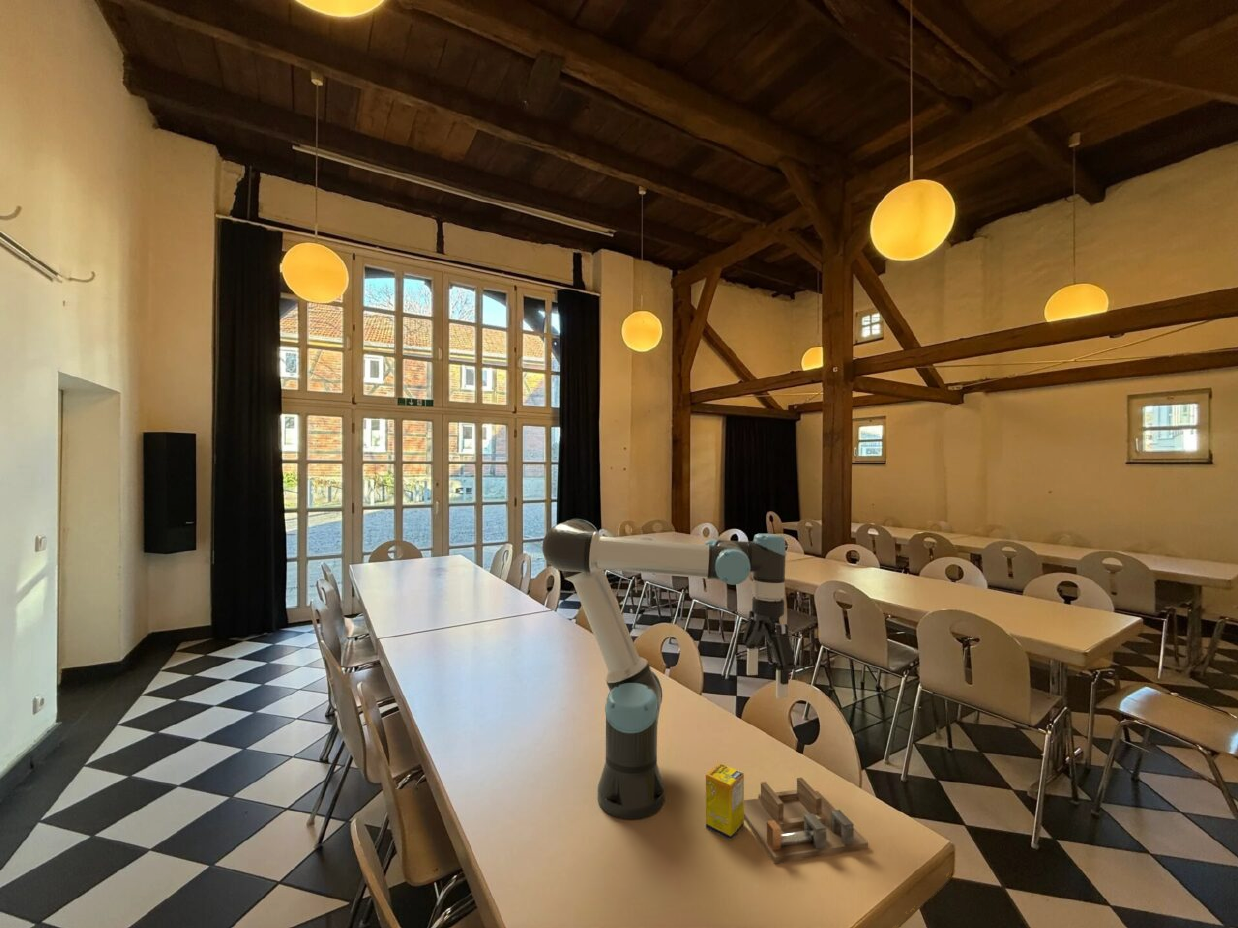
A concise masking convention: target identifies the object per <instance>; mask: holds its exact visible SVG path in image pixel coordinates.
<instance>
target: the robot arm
mask: <svg viewBox="0 0 1238 928" xmlns="http://www.w3.org/2000/svg"><path fill="white" fill-rule="evenodd" d="M541 545H542V553H543V554H542V555H543V557H544V559H545V560H546V562H547V564H549V565H550V566H551V567H552V568H554V569H555V570H557V571H561V573H562V576H563V578H564V580H566V581H568V582H571V583H572V584H573V586H574V589H575V591H576V594H577V596H578V599H579V601H580V604H581V607H582V609H583V611H584V613H585V614H584V615H585V617H586V619H587V621H588V623H589V626H590V630H591V631H592V635H593V636H594V639H595V641H596V644H597V646H598V649H599V651H600V653H601V656H602V658H603V662H604V664H605V666H606V668H607V674H606V675H605V682H606V685H607V688H608V690H609V693H608V694H607V697H606V701H605V708H604V712H605V762H604V766H603V769H602V773H601V775H600V778H599V781H598V785H597V803H598V805H599V806H600V808H601V809H602V810H604V812H605V813H608V814H609V815H611V816H613V817H616V818H620V819H624V820H625V819H626V820H641V819H645V818H649V817H651V816H653V815H655V814H657V813H658V812H659V811H660V810H661V809H662V807H663V806H664V805H665V795H666V793H665V791H666V790H665V785H664V783H663V782H664V781H663V778H662V775H661V772H660V770H659V769H660V768H659V766H658V759H657V758H658V723H659V716H660V710H661V706H662V705H661V704H662V701H663V688H662V684H661V681H660V679H659V677H658V675H656V673H655V672H654V671H653V670H652V669H651V667H650V664H649V662H648V659H646V658H644V657H641V656H639V653H638V651H637V648H636V646H635V644H634V641H633V639H632V636H631V634H630V631H629V629H628V626H627V624H626V622H625V621H626V620H625V619H624V617H623V615H622V612H621V609H620V607H619V604H618V601H617V599H616V597H615V595H614V592H613V589H612V588H611V584H610V582H609V580H608V577H607V575H606V572H605V570H607V571H618V572H630V573H639V574H651V575H663V576H671V577H672V576H673V577H684V578H685V577H686V578H695V579H706V580H714V581H715V580H717V581H721V582H723V583H725V584H727V585H739V584H741V583H743V582H745V581H746V580H747V579H748V577H749V576H750V573H753V574H752V575H753V576H752V596H753V597H752V599H751V600H752V606H751V607H752V608H751V610H749V612H748V613H749V614H748V620H747V623H746V626H745V631H744V634H743V636H742V639H741V641H742V643H743V644H745V647H746V675H747V676H757V675H759V674H758V671H759V670H758V669H759V665H758V664H759V645H758V644H759V643H760V641H761V640H762V639H763V637H765V638H766V640H767V642H769V643H770V646H771V648H772V651H773V652H772V653H773V655H774V657H775V660H776V664H777V667H776V668H775V669H776V671H775V698H777V699H779V698H780V699H781V698H788V697H789V682H790V681H789V678H790V676H789V675H790V671H791V670H796V662H795V658H794V654H793V651H792V650H793V649H792V645H791V641H790V636H789V626H788V624H787V623H785V624H783V623H782V624H781V622H780V618H781V617H782V616H784V614H785V600H784V598H785V586H786V584H785V579H786V578H785V577H786V556H787V554H786V539H785V537H784V536H783V535H780V534H775V533H757V534H754V536H753V540H752V541H751V540H750V541H740V540H737V541H736V540H725V539H724V540H723V539H709V540H707V541H706V542H705V544H698V543H687V542H675V541H664V540H651V539H649V540H648V539H637V538H626V537H618V536H617V537H613V536H603V535H601V534H600V532H599V531H598V529H597V527H596V526H595V525H594V524H592V523H591V522H589V521H588V520H585V519H582V518H572V519H569V520H566V521H564V522H560V523H558V524H556V525H555V524H554V526H552V527H551V528H550V529H549V530H548V531H547V532H546V533H545V535H544V537H543V541H542V544H541Z"/></svg>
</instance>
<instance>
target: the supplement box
mask: <svg viewBox="0 0 1238 928" xmlns="http://www.w3.org/2000/svg"><path fill="white" fill-rule="evenodd" d="M744 776H745V774H744V772H743V771H741V770H738V769H735V768H734V767H731V766H728V765H726V764H723V763H720V762H718V763H717V764H716V765H715V766H714V767H713V768H712V769H711V770H709V771H708V772H707V773H706V774H705V828H706V829H708V830H710V831H712V832H714V833H716V834H717V835H720V836H722V837H724V838H725V839H729V840H732V839H734V837H735V836H736V835H737V833H739V831H740V830H741V829H742V828H743V827H744V825H745V823H744V821H745V819H744V800H745V799H744V798H745V797H744V796H745V795H744V791H745V790H744V789H745V788H744V786H745V785H744V783H745V779H744V778H745V777H744Z"/></svg>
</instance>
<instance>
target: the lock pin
mask: <svg viewBox="0 0 1238 928" xmlns="http://www.w3.org/2000/svg"><path fill="white" fill-rule="evenodd" d="M826 838H827V835H826ZM811 841H814V830H806V831H799V832H792V833H785V834H781V828H780V827H779V825H778V824H777V823H776V822H775V820H772V821H767V843H768V844H769V846H770V847H771V849H772V850H773V851H775V850H781V846H784V845H791V844H798V843H804V842H811Z"/></svg>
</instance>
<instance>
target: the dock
mask: <svg viewBox="0 0 1238 928" xmlns="http://www.w3.org/2000/svg"><path fill="white" fill-rule="evenodd" d="M757 797H758V798H753V799H744V821H745V823H746V824H747V825H748V827H749V828H750V830H751V832H752V833H753V834H754V835H755V837H756V838H757V840H758V842H759V843H760V844H761V846H762V848H763V849H764V851H765V852H766V853H767V855H768V856H769V858H770V860H771V861H772V862H773V864H775V865H776V864H779V863H780V864H782V863H787V862H794V861H800V860H806V859H812V858H820V857H826V856H833V855H838V854H843V853H851V852H857V851H864V850H868V849H869V842H868V840H867V839H865V837H864V836H862V835H861V834H860V833H859V832H858V831H857V829H856V828H855V827H854V822H852V821H851V819H849V817H848V816H846V815H845V814H844V813H843V812H842V811H841V809H836V808H835V807H834V805H832V804H831V803H830V802H829V801H828V799H826V798H825V796H824V795H822V794H821V793H820V791H818V790H815V789H814V788H812V786H811V785H810V784H808V782H807V781H806V780H805V779H804V778H803V777H797V778H796V789H792V790H784V791H783V790H782V791H777V792H775V791H774V790H773V789H772V787H771V786H770V785H769V784H768V783H767V781H762V782H760V793H759V794H758V796H757ZM772 820H775V822H776V823H777V824H778V825H779V827H780V828H781V834H785V833H792V832H799V831H806V830H814V841H811V842H804V843H798V844H791V845H784V846H781V850H775V851H773V850H772V849H771V847H770V846H769V844H768V843H767V821H772ZM826 835H827V838H826Z"/></svg>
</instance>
